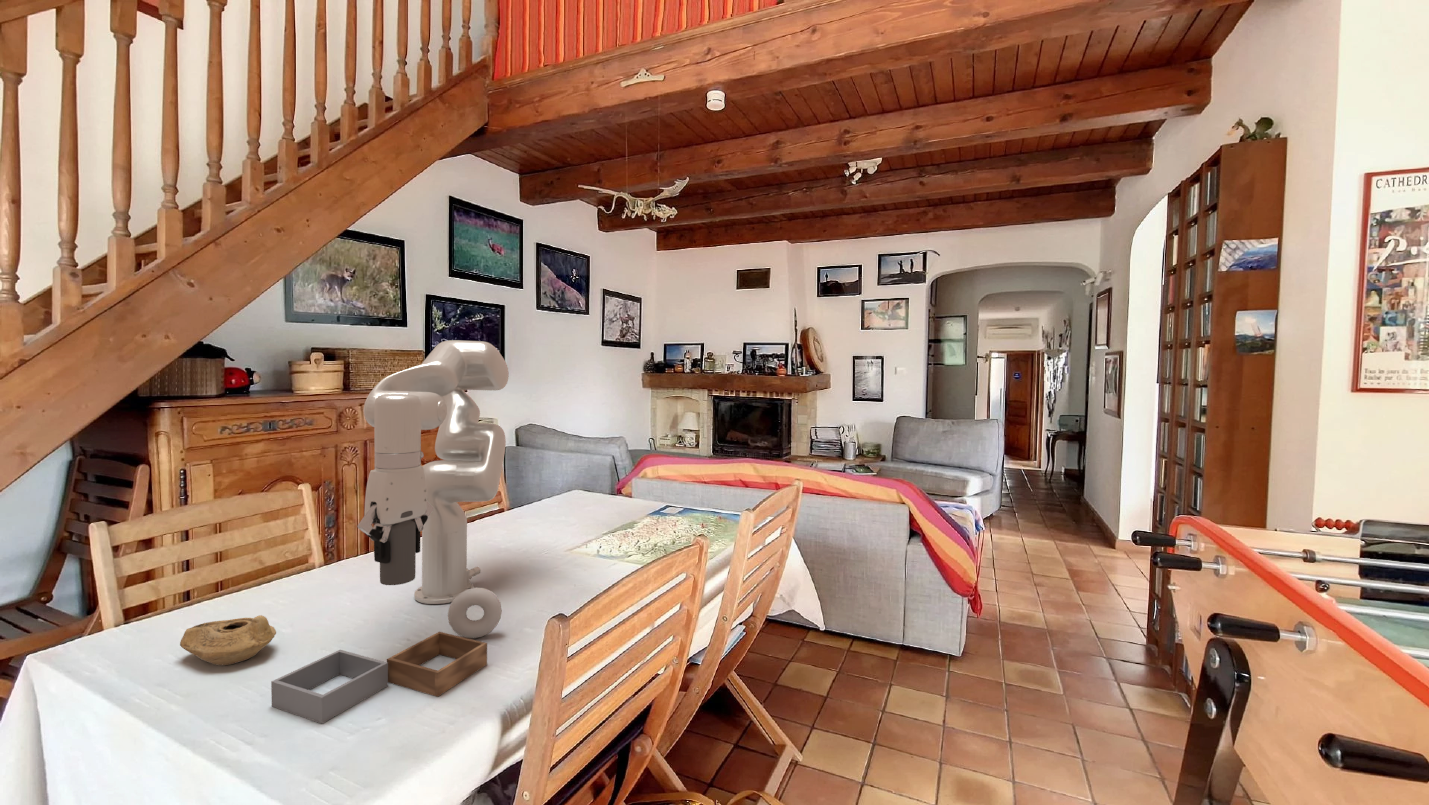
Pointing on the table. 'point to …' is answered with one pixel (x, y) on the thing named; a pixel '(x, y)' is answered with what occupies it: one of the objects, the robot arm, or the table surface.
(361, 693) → the grey bin
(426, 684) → the walnut bin
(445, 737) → the table surface
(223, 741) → the table surface
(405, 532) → the bottle
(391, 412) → the robot arm
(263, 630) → the oil lamp
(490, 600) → the donut
